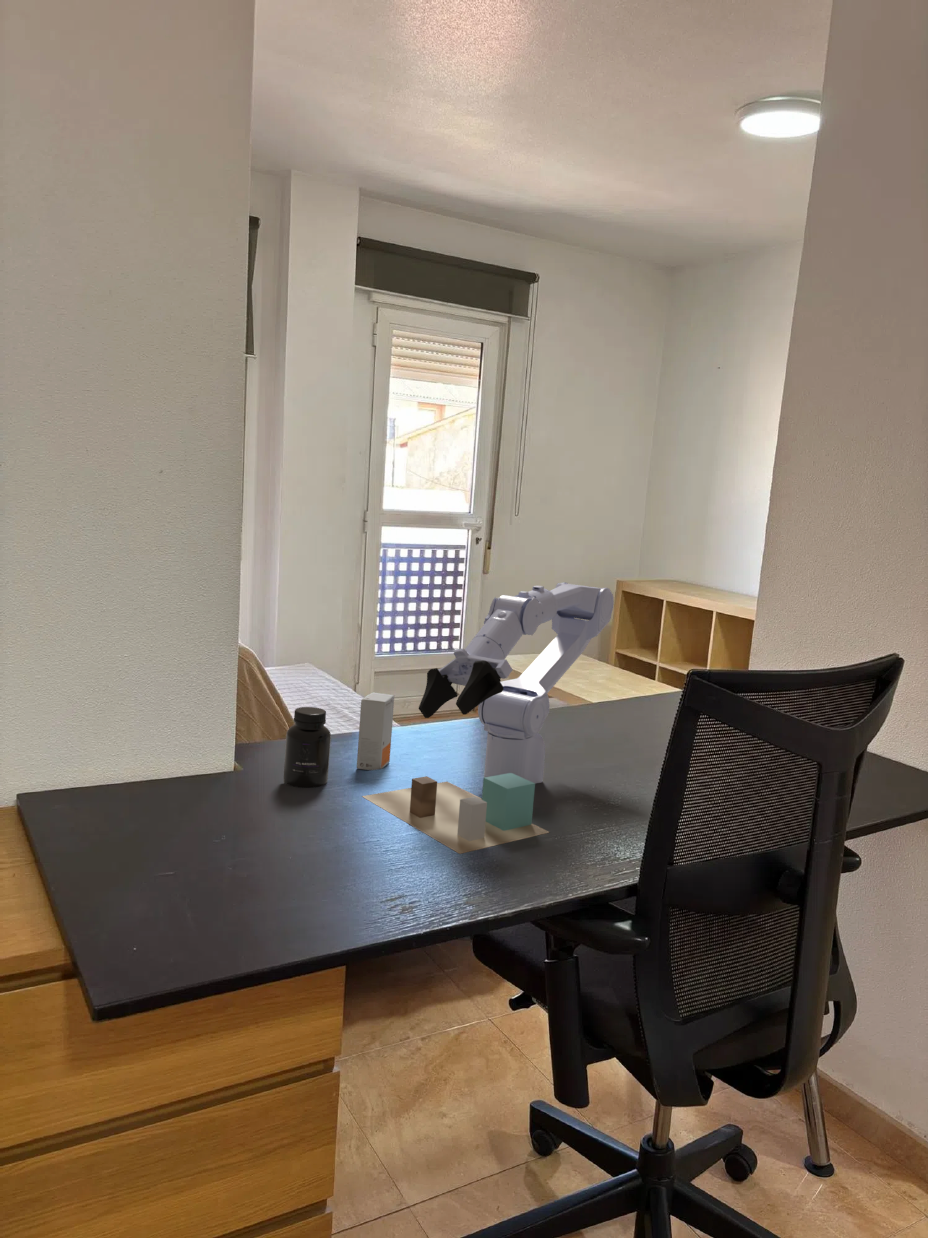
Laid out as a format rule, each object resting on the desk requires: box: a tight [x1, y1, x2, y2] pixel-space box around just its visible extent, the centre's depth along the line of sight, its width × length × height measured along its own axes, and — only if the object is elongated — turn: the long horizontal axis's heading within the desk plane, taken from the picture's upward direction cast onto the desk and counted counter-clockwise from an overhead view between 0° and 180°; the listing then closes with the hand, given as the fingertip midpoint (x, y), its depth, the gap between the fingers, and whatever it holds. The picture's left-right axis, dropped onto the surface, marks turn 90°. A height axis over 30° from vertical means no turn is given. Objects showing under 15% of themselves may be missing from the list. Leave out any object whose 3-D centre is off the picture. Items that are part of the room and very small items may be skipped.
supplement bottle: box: [283, 706, 332, 789], centre depth 140 cm, size 7×7×12 cm
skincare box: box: [356, 691, 395, 771], centre depth 153 cm, size 6×4×12 cm
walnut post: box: [410, 775, 438, 818], centre depth 130 cm, size 3×3×5 cm
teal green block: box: [481, 773, 536, 831], centre depth 130 cm, size 5×5×6 cm
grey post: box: [457, 797, 487, 841], centre depth 123 cm, size 3×3×5 cm
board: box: [361, 781, 550, 855], centre depth 132 cm, size 16×24×1 cm, turn 38°
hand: (441, 711), depth 129 cm, fingers open, 7 cm apart
